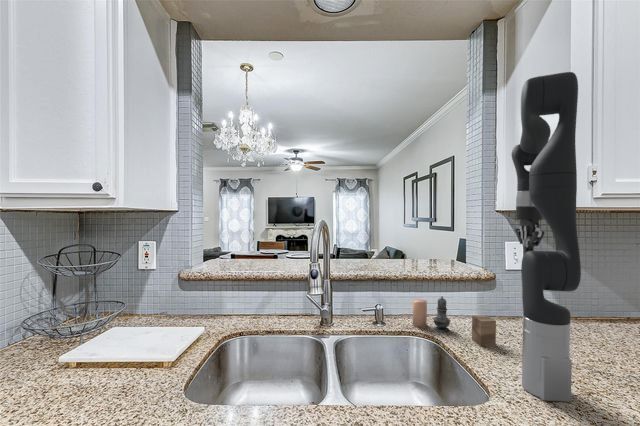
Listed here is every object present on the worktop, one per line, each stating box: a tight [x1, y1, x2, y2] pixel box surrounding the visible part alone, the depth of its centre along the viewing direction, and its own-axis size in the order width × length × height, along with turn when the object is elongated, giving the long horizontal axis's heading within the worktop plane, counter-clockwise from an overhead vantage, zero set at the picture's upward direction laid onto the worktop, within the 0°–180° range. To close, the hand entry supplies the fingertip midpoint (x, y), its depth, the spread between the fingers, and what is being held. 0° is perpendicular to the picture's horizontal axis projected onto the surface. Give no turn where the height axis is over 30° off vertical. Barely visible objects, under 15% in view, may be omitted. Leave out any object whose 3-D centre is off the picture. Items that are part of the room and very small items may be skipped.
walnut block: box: [471, 314, 497, 347], centre depth 105 cm, size 5×5×8 cm
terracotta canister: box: [412, 298, 428, 329], centre depth 120 cm, size 5×5×9 cm
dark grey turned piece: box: [432, 295, 452, 333], centre depth 116 cm, size 6×6×12 cm
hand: (528, 258), depth 106 cm, fingers closed
